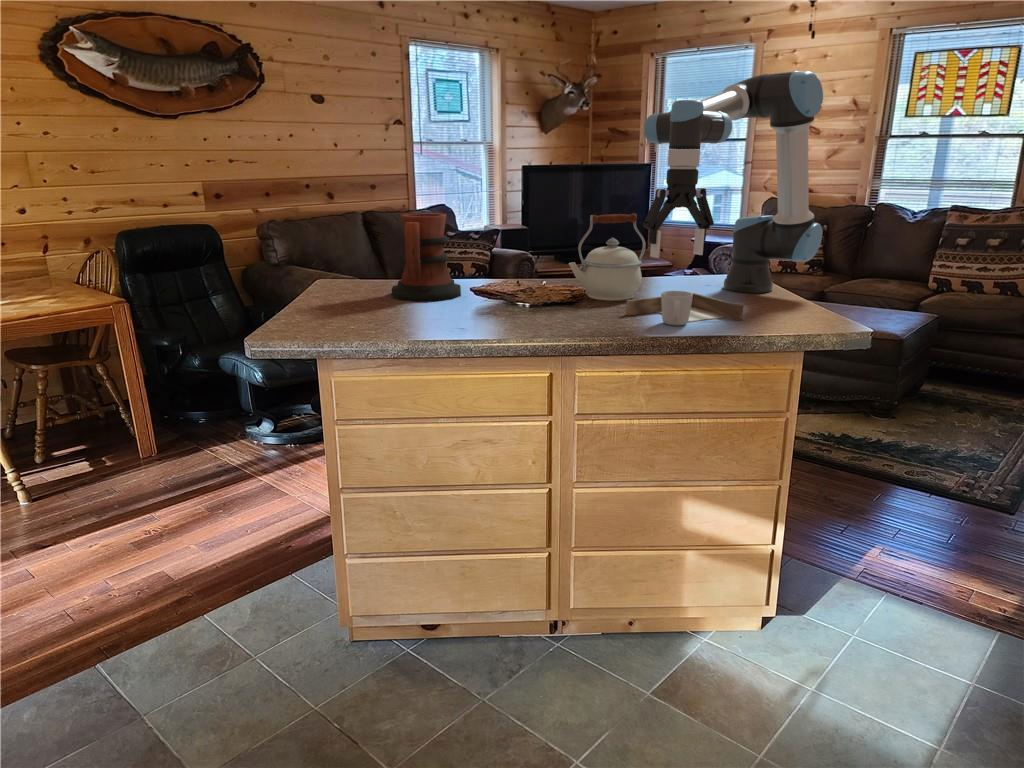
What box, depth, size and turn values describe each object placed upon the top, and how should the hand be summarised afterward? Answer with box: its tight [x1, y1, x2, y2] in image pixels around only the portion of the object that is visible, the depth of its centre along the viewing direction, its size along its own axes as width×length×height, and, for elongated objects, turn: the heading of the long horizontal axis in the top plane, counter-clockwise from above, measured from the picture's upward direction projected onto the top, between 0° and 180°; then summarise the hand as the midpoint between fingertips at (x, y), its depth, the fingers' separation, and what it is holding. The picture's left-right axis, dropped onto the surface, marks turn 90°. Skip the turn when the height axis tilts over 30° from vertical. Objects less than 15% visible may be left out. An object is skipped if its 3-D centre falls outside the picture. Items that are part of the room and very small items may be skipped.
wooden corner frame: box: [625, 292, 745, 323], centre depth 197 cm, size 23×20×4 cm
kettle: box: [568, 212, 647, 302], centre depth 222 cm, size 25×18×25 cm
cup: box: [660, 290, 693, 327], centre depth 188 cm, size 11×8×8 cm
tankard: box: [391, 212, 462, 303], centre depth 224 cm, size 22×25×25 cm
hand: (676, 256), depth 185 cm, fingers open, 13 cm apart
